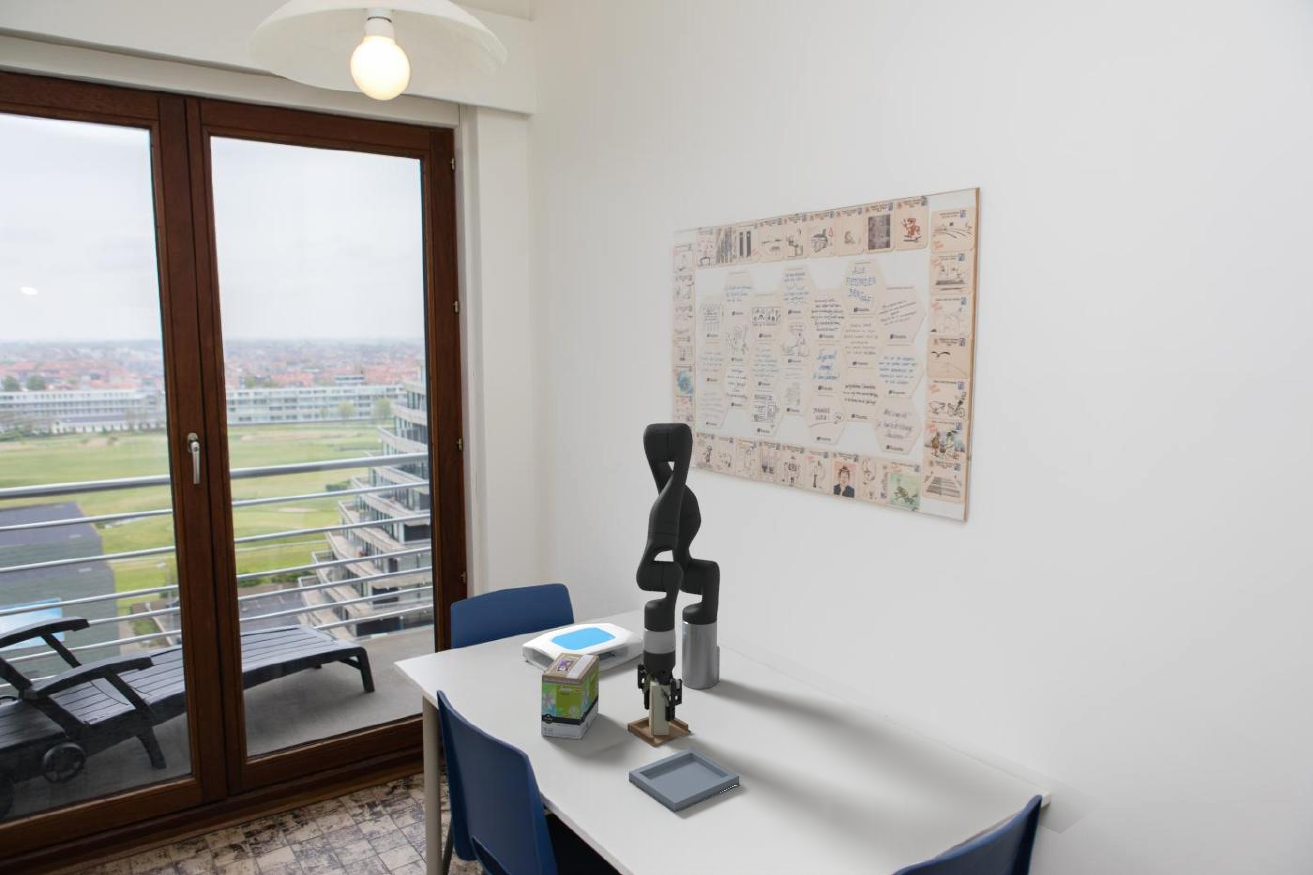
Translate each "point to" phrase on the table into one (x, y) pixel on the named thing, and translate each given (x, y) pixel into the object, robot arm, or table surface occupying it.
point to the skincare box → (657, 710)
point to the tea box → (569, 695)
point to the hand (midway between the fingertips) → (659, 714)
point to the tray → (683, 779)
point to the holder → (643, 732)
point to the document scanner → (584, 645)
